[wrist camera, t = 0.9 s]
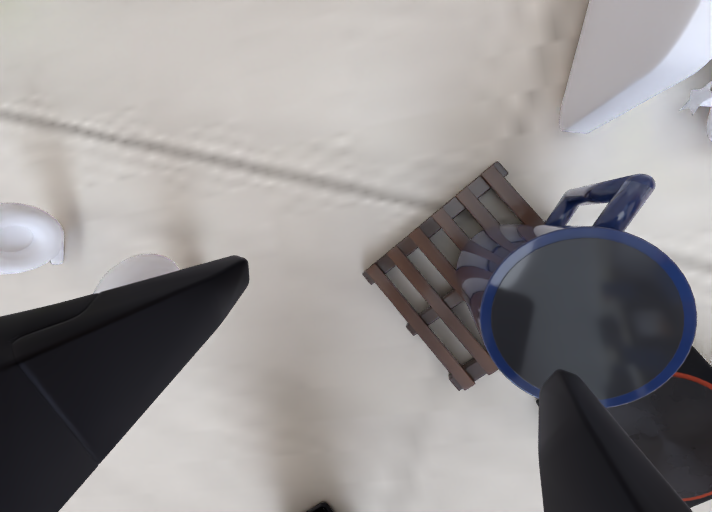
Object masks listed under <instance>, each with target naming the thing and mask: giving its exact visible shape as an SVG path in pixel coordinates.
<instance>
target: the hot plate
mask: <svg viewBox="0 0 712 512" xmlns="http://www.w3.org/2000/svg"><path fill="white" fill-rule="evenodd" d="M536 403H537V405H538V406H539V399H538V400H536ZM606 409H607V411H608V412H609V413H610V414H611V415H612V417H613V418H614V419H615V420H616V421H617V422H618V424H619V425H620V426H621V427H622V428H623V430H624V431H625V432H626V433H627V434H628V436H629V437H630V438H631V439H632V440H633V441H634V443H635V444H636V445H637V446H638V447H639V449H640V450H641V451H642V452H643V453H644V455H645V456H646V457H647V458H648V459H649V460H650V462H651V463H652V464H653V465H654V466H655V468H656V469H657V470H658V471H659V472H660V474H661V475H662V476H663V477H664V478H665V479H666V481H667V482H668V483H669V484H670V485H671V487H672V488H673V489H674V490H675V491H676V493H677V494H678V495H679V496H680V497H681V498H682V500H683V501H684V502H685V503H686V504H687V506H688V507H689V508H691V507H693V506H696V505H698V504H701V503H703V502H706V501H708V500H710V499H712V367H711V366H710V365H709V364H708V363H707V362H706V360H705V359H704V358H703V357H702V356H701V355H700V354H699V353H698V352H697V350H696V349H695V348H694V347H693V346H692V347H691V349H690V352H689V353H688V355H687V357H686V359H685V361H684V362H683V364H682V365H681V366H680V368H679V369H678V370H677V372H676V373H675V374H674V375H673V376H672V377H671V378H670V379H669V380H668V381H667V382H666V383H664V384H663V385H662V386H660V387H659V388H658V389H656V390H655V391H653V392H651V393H649V394H648V395H646V396H644V397H642V398H640V399H637V400H635V401H633V402H630V403H626V404H623V405H619V406H615V407H609V408H606Z"/></svg>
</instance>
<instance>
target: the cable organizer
mask: <svg viewBox="0 0 712 512" xmlns="http://www.w3.org/2000/svg"><path fill="white" fill-rule="evenodd" d="M711 59H712V0H590V1H589V5H588V8H587V12H586V16H585V20H584V23H583V27H582V31H581V35H580V38H579V42H578V46H577V49H576V53H575V57H574V61H573V64H572V68H571V72H570V76H569V79H568V83H567V87H566V91H565V94H564V98H563V102H562V106H561V111H560V119H559V124H560V129H561V130H562V131H565V132H575V133H584V134H587V133H589V132H591V131H593V130H595V129H597V128H598V127H600V126H602V125H604V124H606V123H607V122H609V121H611V120H613V119H614V118H616V117H618V116H620V115H622V114H623V113H625V112H627V111H629V110H631V109H632V108H634V107H636V106H638V105H639V104H641V103H643V102H645V101H647V100H648V99H650V98H652V97H654V96H656V95H657V94H659V93H661V92H663V91H665V90H666V89H668V88H670V87H672V86H673V85H675V84H677V83H679V82H681V81H682V80H684V79H686V78H688V77H690V76H691V75H693V74H694V73H696V72H697V71H699V70H700V69H701V68H702V67H704V66H705V65H706V64H707V63H708V62H709V61H710V60H711ZM711 86H712V81H711V82H709V83H708V84H707V85H706V86H704V87H703V88H702V89H695V90H691V94H690V100H689V101H688V102H687V103H686V104H685V105H684V106H683V107H682V108H681V109H680V110H679V111H681V110H684V109H687V108H690V109H691V112H692V115H693V114H694V113H695V111H696V110H697V108H698V107H699V106H709V107H711V108H710V111H709V115H708V120H707V134H708V137H709V139H710V141H711V142H712V92H711V91H709V90H710V88H711Z"/></svg>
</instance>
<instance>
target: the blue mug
mask: <svg viewBox="0 0 712 512" xmlns="http://www.w3.org/2000/svg"><path fill="white" fill-rule="evenodd" d="M654 189H655V180H654V179H653V178H652V177H651V176H649V175H646V174H635V175H631V176H626V177H622V178H618V179H613V180H609V181H605V182H601V183H596V184H592V185H588V186H583V187H579V188H575V189H570V190H568V191H567V192H565V194H564V195H563V196H562V198H561V199H560V201H559V202H558V204H557V205H556V207H555V209H554V210H553V212H552V213H551V215H550V216H549V218H548V219H547V221H546V222H545V224H544V225H522V224H503V225H497V226H493V227H490V228H487V229H485V230H483V231H481V232H479V233H478V234H476V235H475V236H474V237H473V238H471V239H470V240H469V241H468V242H467V244H466V245H465V246H464V248H463V249H462V251H461V253H460V256H459V258H458V262H457V268H456V276H457V282H458V285H459V288H460V290H461V293H462V295H463V297H464V300H465V302H466V304H467V306H468V309H469V311H470V313H471V315H472V318H473V320H474V322H475V325H476V327H477V329H478V331H479V334H480V336H481V338H482V341H483V343H484V345H485V347H486V349H487V351H488V353H489V355H490V357H491V359H492V360H493V362H494V363H495V365H496V366H497V368H498V369H499V370H500V371H501V372H502V373H503V374H504V375H505V377H506V378H508V379H509V380H510V381H511V382H512V383H513V384H515V385H516V386H517V387H519V388H520V389H522V390H523V391H525V392H526V393H528V394H530V395H532V396H534V397H536V398H538V399H539V392H540V389H541V387H542V386H543V384H544V383H545V382H546V381H547V380H548V379H549V378H550V376H551V375H552V374H553V373H554V372H555V371H556V370H558V369H562V370H565V371H568V372H570V373H573V374H576V375H577V376H579V377H580V378H581V380H582V381H583V382H584V383H585V384H586V386H587V387H588V388H589V389H590V390H591V392H592V393H593V394H594V395H595V396H596V397H597V399H598V400H599V401H600V402H601V403H602V405H603V406H604V407H605V408H609V407H615V406H619V405H623V404H626V403H630V402H633V401H635V400H637V399H640V398H642V397H644V396H646V395H648V394H649V393H651V392H653V391H655V390H656V389H658V388H659V387H660V386H662V385H663V384H664V383H666V382H667V381H668V380H669V379H670V378H671V377H672V376H673V375H674V374H675V373H676V372H677V370H678V369H679V368H680V366H681V365H682V364H683V362H684V361H685V359H686V357H687V355H688V353H689V352H690V349H691V347H692V344H693V341H694V338H695V332H696V327H697V311H696V305H695V299H694V296H693V293H692V290H691V287H690V285H689V284H688V282H687V280H686V278H685V276H684V274H683V273H682V272H681V270H680V269H679V268H678V266H677V265H676V264H675V263H674V262H673V261H672V260H671V259H670V258H669V257H668V256H667V255H666V254H665V253H664V252H662V251H661V250H660V249H658V248H657V247H656V246H654V245H653V244H651V243H649V242H647V241H645V240H644V239H642V238H640V237H637V236H635V235H632V234H630V233H627V232H624V230H625V229H626V228H627V226H628V225H629V224H630V222H631V221H632V219H633V218H634V217H635V215H636V214H637V213H638V211H639V210H640V209H641V207H642V206H643V204H644V203H645V202H646V200H647V199H648V198H649V196H650V195H651V194H652V192H653V191H654ZM600 203H608V204H607V206H606V207H605V209H604V210H603V212H602V213H601V214H600V216H599V217H598V219H597V220H596V221H595V223H594V224H593V226H566V225H567V223H568V222H569V220H570V219H571V217H572V216H573V214H574V213H575V211H576V210H577V208H578V207H579V206H581V205H591V204H600Z"/></svg>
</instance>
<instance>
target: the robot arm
mask: <svg viewBox="0 0 712 512" xmlns="http://www.w3.org/2000/svg"><path fill="white" fill-rule="evenodd" d="M248 284H249V267H248V261H247V260H246V259H245V258H242V257H239V256H236V255H233V256H229V257H226V258H222V259H218V260H215V261H211V262H207V263H204V264H200V265H197V266H193V267H189V268H186V269H182V270H178V271H175V272H171V273H167V274H164V275H160V276H157V277H153V278H149V279H146V280H142V281H138V282H135V283H131V284H127V285H124V286H120V287H117V288H113V289H109V290H106V291H102V292H100V293H94V294H91V295H87V296H84V297H80V298H76V299H73V300H69V301H65V302H61V303H57V304H53V305H49V306H45V307H41V308H36V309H32V310H28V311H23V312H19V313H15V314H10V315H6V316H1V317H0V512H58V511H59V510H60V509H61V508H62V507H63V506H64V504H65V503H66V502H67V501H68V500H69V499H70V498H71V496H72V495H73V494H74V493H75V492H76V491H77V490H78V488H79V487H80V486H81V485H82V484H83V483H84V482H85V480H86V479H87V478H88V477H89V476H90V475H91V473H92V472H93V471H94V470H95V469H96V468H97V467H98V464H99V463H101V462H102V460H103V459H104V458H105V457H106V456H107V455H108V454H109V452H110V451H111V450H112V449H113V448H114V447H115V446H116V444H117V443H118V442H119V441H120V440H121V439H122V437H123V436H124V435H125V434H126V433H127V432H128V431H129V429H130V428H131V427H132V426H133V425H134V424H135V423H136V421H137V420H138V419H139V418H140V417H141V416H142V414H143V413H144V412H145V411H146V410H147V409H148V408H149V406H150V405H151V404H152V403H153V402H154V401H155V399H156V398H157V397H158V396H159V395H160V394H161V393H162V391H163V390H164V389H165V388H166V387H167V386H168V385H169V383H170V382H171V381H172V380H173V379H174V378H175V376H176V375H177V374H178V373H179V372H180V371H181V370H182V368H183V367H184V366H185V365H186V364H187V363H188V362H189V360H190V359H191V358H192V357H193V356H194V355H195V353H196V352H197V351H198V350H199V349H200V348H201V347H202V345H203V344H204V343H205V342H206V341H207V340H208V339H209V337H210V336H211V335H212V334H213V333H214V332H215V330H216V329H217V328H218V327H219V326H220V324H221V323H222V322H223V320H224V319H225V318H226V316H227V315H228V313H229V312H230V310H231V309H232V308H233V306H234V305H235V303H236V302H237V301H238V299H239V298H240V296H241V295H242V293H243V292H244V291H245V289H246V288H247V286H248ZM538 454H539V467H540V477H541V487H542V497H543V506H544V512H692V510H691V509H690V508H689V507H688V506H687V504H686V503H685V502H684V501H683V500H682V498H681V497H680V496H679V495H678V494H677V493H676V491H675V490H674V489H673V488H672V487H671V485H670V484H669V483H668V482H667V481H666V479H665V478H664V477H663V476H662V475H661V474H660V472H659V471H658V470H657V469H656V468H655V466H654V465H653V464H652V463H651V462H650V460H649V459H648V458H647V457H646V456H645V455H644V453H643V452H642V451H641V450H640V449H639V447H638V446H637V445H636V444H635V443H634V441H633V440H632V439H631V438H630V437H629V436H628V434H627V433H626V432H625V431H624V430H623V428H622V427H621V426H620V425H619V424H618V422H617V421H616V420H615V419H614V418H613V417H612V415H611V414H610V413H609V412H608V411H607V409H606V408H605V407H604V406H603V405H602V403H601V402H600V401H599V400H598V399H597V397H596V396H595V395H594V394H593V393H592V392H591V390H590V389H589V388H588V387H587V386H586V384H585V383H584V382H583V381H582V380H581V378H580V377H579V376H577V375H576V374H573V373H570V372H568V371H565V370H562V369H558V370H556V371H555V372H554V373H553V374H552V375H551V376H550V378H549V379H548V380H547V381H546V382H545V383H544V384H543V386H542V387H541V389H540V392H539V433H538ZM307 512H333V511H332V509H331V508H330V507H329V505H328V504H326V503H320V504H319V505H317V506H315V507H314V508H312V509H310V510H309V511H307Z"/></svg>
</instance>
